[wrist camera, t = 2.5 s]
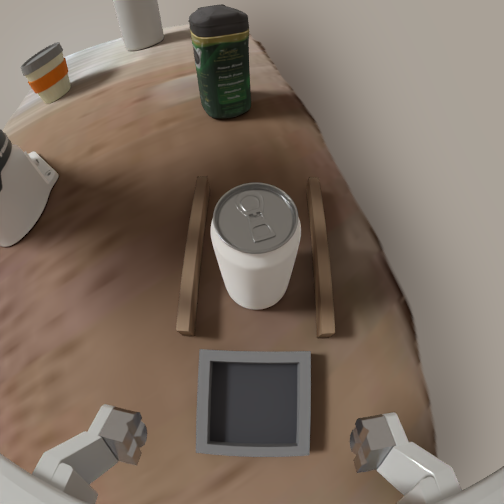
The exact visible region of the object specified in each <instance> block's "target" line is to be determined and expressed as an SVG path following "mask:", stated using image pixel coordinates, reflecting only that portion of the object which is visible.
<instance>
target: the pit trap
mask: <svg viewBox="0 0 504 504" xmlns="http://www.w3.org/2000/svg"><path fill="white" fill-rule="evenodd" d="M310 416H311V351H299V352H249V351H221V350H203V349H200V353H199V371H198V392H197V421H196V453H204V454H214V455H227V456H247V457H284V456H304V455H309V449H310Z"/></svg>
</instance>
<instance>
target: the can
mask: <svg viewBox="0 0 504 504" xmlns="http://www.w3.org/2000/svg"><path fill="white" fill-rule="evenodd" d="M300 238H301V224H300V220H299V217H298V211H297V208H296V205H295V203H294V202H293V200H292V199H291V198H290V196H289V195H288V194H287V193H285V192H284V191H283V190H281V189H279V188H278V187H275V186H273V185H270V184H266V183H246V184H242V185H239V186H236V187H234V188H232V189H230V190H229V191H228V192H226V193H225V194H224V195H223V196H222V197H221V198H220V199H219V201H218V202H217V204H216V206H215V209H214V213H213V219H212V223H211V240H212V244H213V248H214V251H215V254H216V258H217V261H218V264H219V268H220V271H221V274H222V277H223V280H224V283H225V286H226V289H227V291H228V293H229V295H230V297H231V298H232V299H233V300H234V301H235V302H236V303H237V304H239V305H241V306H243V307H245V308H248V309H255V310H258V309H265V308H268V307H271V306H272V305H274V304H276V303H277V302H278V301H279V300H280V299H281V298H282V297H283V295H284V294H285V292H286V289H287V287H288V283H289V280H290V277H291V273H292V270H293V266H294V262H295V259H296V255H297V251H298V247H299V243H300Z"/></svg>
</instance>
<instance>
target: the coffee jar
mask: <svg viewBox="0 0 504 504" xmlns="http://www.w3.org/2000/svg"><path fill="white" fill-rule="evenodd" d="M189 23H190V32H191V38H192V44H193V50H194V57H195V64H196V71H197V77H198V85H199V91H200V98H201V103H202V106H203V108H204V110H205V111H206V113H207V114H208V115H209V116H210V117H212V118H232V117H236V116H239V115H241V114H243V113H245V112H247V111H248V110H249V109H250V107H251V93H250V74H249V47H248V41H249V24H248V16H247V15H246V14H245V13H243V12H241V11H239V10H237V9H234V8H230V7H226V6H225V5H214V6H208V7H201V8H198V10H196V11H195V12H194V13H192V14H191V15H190V17H189Z"/></svg>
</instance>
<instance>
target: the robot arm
mask: <svg viewBox="0 0 504 504" xmlns="http://www.w3.org/2000/svg"><path fill="white" fill-rule="evenodd" d="M58 176H59V175H58V173H57V172H56V171H55V170H54V169H53V168H52V167H51V166H50V165H48V164H47V163H46V162H45V161H44V160H43V159H42V158H41V157H40V156H39V155H38V154H37V153H36V152H31V153H29V154H27V152H23V151H22V150H21V148H20V147H19V146H18V145H15V144H12V143H11V141H10V140H9V139H8V137H7V135H6V134H5V133H3V131H2V130H0V246H3V247H7V246H11V245H13V244H15V243H16V242H18V241H19V240H20V239H22V238H23V237H24V236H25V235H26V234H27V233H28V232H29V231H30V229H31V228H32V227H33V226H34V224H35V223H36V221H37V220H38V218H39V217H40V215H41V213H42V211H43V209H44V207H45V205H46V203H47V200H48V196H49V193H50V191H51V189H52V187H53V186H54V184H55V182H56V181H57V179H58ZM141 419H142V417H141V415H140V412H135V411H131V410H126V409H122V408H118V407H115V406H111V405H107V404H104V405H103V406H101V408H100V410H99V412H98V413H97V415H96V417H95V419H94V421H93V423H92V424H91V426H90V428H89V430H88V432H85V431H84V432H82V433H80V434H78V435H77V436H75V437H73V438H71V439H69V440H67V441H65V442H64V443H62V444H60V445H58V446H56V447H54V448H52V449H50V450H48V451H46V452H44V454H43V455H42V457H41V459H40V461H39V462H38V464H37V466H36V468H35V470H34V471H33V473H32V474H30V473H29V472H27V471H26V470H24V469H22V468H21V467H19V466H18V465H16V464H15V463H13V462H12V461H11V460H9V459H8V458H6V457H5V456H3V455H2V454H1V453H0V504H95V502H96V499H97V496H98V494H97V492H96V491H95V490H94V489H93V488H92V487H91V486H90V485H89V484H90V483H92V482H93V481H94V480H96V479H97V478H98V477H100V476H101V475H102V474H104V473H105V472H106V471H107V470H109V469H110V468H111V467H113V466H114V465H115V464H116V463H118V461H121V462H125V463H129V464H133V465H138V462H139V459H140V456H141V454H142V453H141V450H140V447H142V446H143V445H145V442H146V439H147V429H146V426H145V424H144V423H143V422H141ZM355 425H356V428H355V429H353V430H352V432H351V435H350V447H351V451H352V452H353V453H354V454H356V456H355V458H354V464H355V468H356V472H357V473H360V472H366V471H371V470H376V469H377V471H378V472H379V473H380V474H381V475H382V476H383V477H384V478H385V479H386V480H388V481H389V482H390V483H391V484H392V485H393V486H394V487H395V488H396V489H397V490H399V491H400V492H401V493H402V494H403V495H404V496H403V497H402V498H401V499H400V500H399V501H398V502H397V503H396V504H504V466H503V467H502V468H500V469H499V470H497V471H496V472H494V473H492V474H491V475H489V476H487V477H486V478H484V479H483V480H481V481H479V482H477V483H475V484H474V485H472V486H470V487H468V488H466V489H464V490H462V489H461V487H460V484H459V482H458V480H457V477H456V475H455V473H454V470H453V468H452V467H451V466H450V465H448V464H446V463H445V462H443V461H441V460H440V459H438V458H437V457H435V456H433V455H432V454H430V453H429V452H427V451H426V450H424V449H423V448H421V447H419V446H418V445H416V444H415V443H413V442H409V441H408V439H407V437H406V434H405V432H404V430H403V427H402V425H401V423H400V420H399V418H398V416H397V414H396V413H395V412H392V413H387V414H380V415H375V416H369V417H364V418H359V419H357V421H356V423H355Z"/></svg>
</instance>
